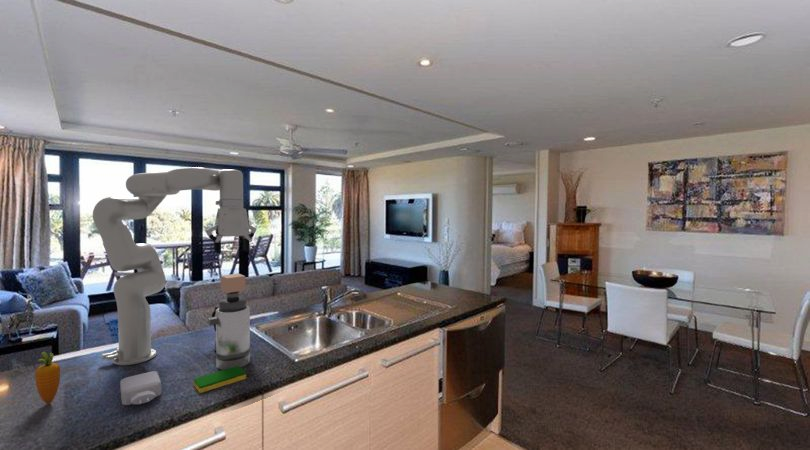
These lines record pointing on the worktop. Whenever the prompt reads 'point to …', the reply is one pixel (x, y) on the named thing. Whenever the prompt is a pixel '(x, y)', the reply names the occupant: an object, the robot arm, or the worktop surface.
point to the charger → (140, 388)
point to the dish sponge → (219, 379)
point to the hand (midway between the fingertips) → (232, 252)
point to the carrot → (47, 378)
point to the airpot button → (232, 283)
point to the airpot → (232, 332)
